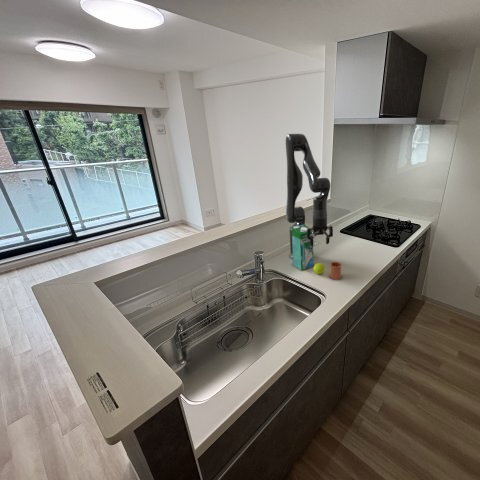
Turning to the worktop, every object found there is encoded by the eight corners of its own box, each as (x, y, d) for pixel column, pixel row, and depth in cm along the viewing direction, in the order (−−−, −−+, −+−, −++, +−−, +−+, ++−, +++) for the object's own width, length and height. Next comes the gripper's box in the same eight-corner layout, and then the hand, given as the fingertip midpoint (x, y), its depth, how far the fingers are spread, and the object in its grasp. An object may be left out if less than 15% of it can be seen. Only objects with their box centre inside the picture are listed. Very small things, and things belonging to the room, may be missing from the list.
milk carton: (301, 270, 154) (300, 230, 144) (292, 264, 160) (291, 226, 151) (313, 266, 159) (313, 227, 149) (304, 260, 165) (303, 223, 156)
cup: (329, 275, 148) (329, 262, 145) (338, 273, 149) (339, 261, 146) (332, 280, 143) (332, 267, 140) (342, 278, 144) (342, 266, 141)
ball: (312, 271, 152) (312, 261, 150) (322, 270, 153) (323, 260, 151) (314, 276, 146) (314, 266, 144) (325, 275, 148) (326, 265, 145)
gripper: (330, 213, 142) (329, 240, 148) (305, 215, 139) (305, 243, 145) (335, 217, 135) (334, 245, 141) (308, 219, 132) (308, 248, 138)
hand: (319, 244), depth 143 cm, fingers open, 8 cm apart
